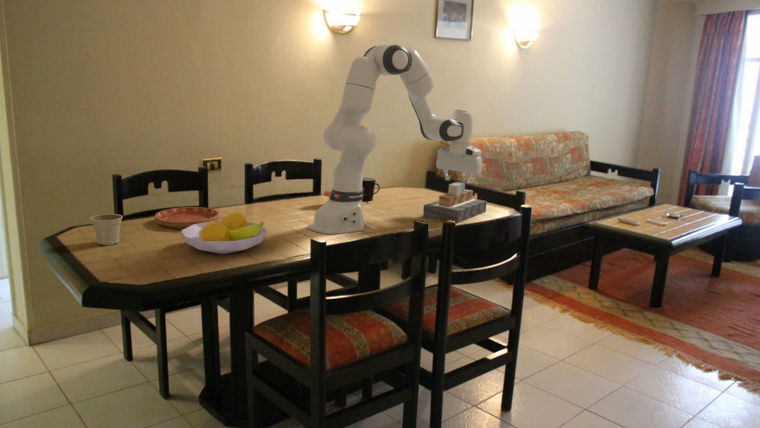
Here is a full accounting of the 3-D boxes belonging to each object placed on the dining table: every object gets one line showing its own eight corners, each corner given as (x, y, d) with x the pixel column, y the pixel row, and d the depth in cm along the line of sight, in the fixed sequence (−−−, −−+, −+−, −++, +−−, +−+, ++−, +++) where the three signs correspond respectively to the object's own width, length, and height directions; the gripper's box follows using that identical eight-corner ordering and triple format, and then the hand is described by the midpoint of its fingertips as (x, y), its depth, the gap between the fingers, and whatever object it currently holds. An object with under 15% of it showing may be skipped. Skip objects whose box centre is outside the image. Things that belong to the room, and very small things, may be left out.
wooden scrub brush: (449, 207, 234) (450, 197, 233) (438, 205, 237) (439, 195, 236) (472, 199, 252) (473, 190, 251) (462, 197, 254) (462, 189, 254)
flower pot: (115, 237, 191) (113, 212, 189) (129, 243, 185) (128, 217, 183) (87, 242, 184) (84, 216, 182) (100, 248, 178) (98, 222, 176)
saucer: (217, 230, 205) (217, 220, 204) (150, 231, 200) (150, 221, 199) (220, 215, 227) (220, 206, 226) (160, 216, 222) (159, 207, 221)
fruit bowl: (167, 245, 184) (166, 211, 181) (241, 232, 203) (240, 201, 200) (210, 267, 165) (208, 230, 162) (286, 251, 183) (286, 217, 181)
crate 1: (456, 195, 239) (457, 185, 238) (448, 193, 241) (448, 184, 240) (461, 193, 242) (461, 184, 241) (452, 192, 244) (453, 183, 243)
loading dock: (457, 223, 230) (458, 210, 228) (423, 216, 238) (423, 204, 237) (485, 211, 252) (486, 200, 251) (453, 206, 261) (454, 195, 260)
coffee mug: (353, 198, 269) (354, 177, 267) (370, 197, 273) (371, 177, 270) (363, 203, 259) (364, 182, 257) (380, 202, 262) (381, 181, 260)
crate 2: (460, 193, 242) (460, 184, 242) (451, 192, 245) (452, 183, 244) (464, 192, 246) (465, 183, 245) (456, 191, 248) (456, 182, 247)
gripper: (434, 147, 242) (432, 179, 245) (478, 152, 231) (475, 185, 234) (441, 146, 247) (439, 177, 250) (485, 151, 236) (481, 184, 239)
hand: (457, 181), depth 242 cm, fingers open, 8 cm apart
